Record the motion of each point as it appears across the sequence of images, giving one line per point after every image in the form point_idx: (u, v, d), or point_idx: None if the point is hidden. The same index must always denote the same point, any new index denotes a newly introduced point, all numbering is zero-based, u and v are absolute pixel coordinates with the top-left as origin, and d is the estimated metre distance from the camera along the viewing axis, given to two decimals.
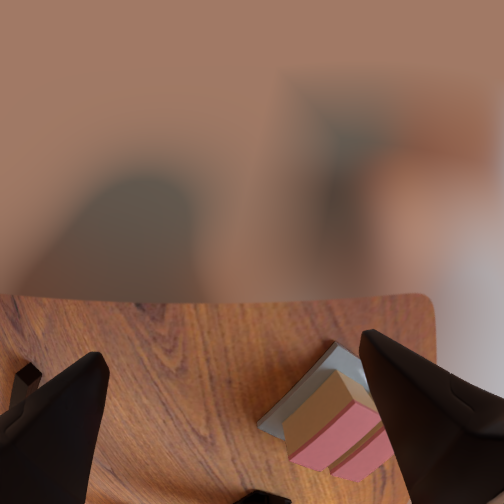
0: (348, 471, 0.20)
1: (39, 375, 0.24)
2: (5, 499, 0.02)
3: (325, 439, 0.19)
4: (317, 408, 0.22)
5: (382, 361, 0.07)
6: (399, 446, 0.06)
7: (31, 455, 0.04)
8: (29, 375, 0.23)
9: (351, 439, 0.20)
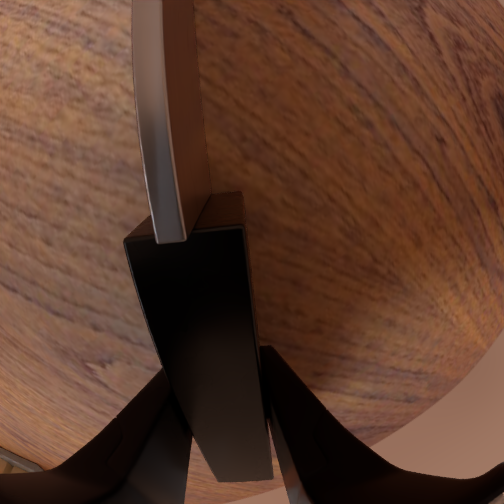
0: None
1: None
2: None
3: None
4: None
5: (263, 382, 0.07)
6: (283, 473, 0.06)
7: (142, 486, 0.04)
8: None
9: None
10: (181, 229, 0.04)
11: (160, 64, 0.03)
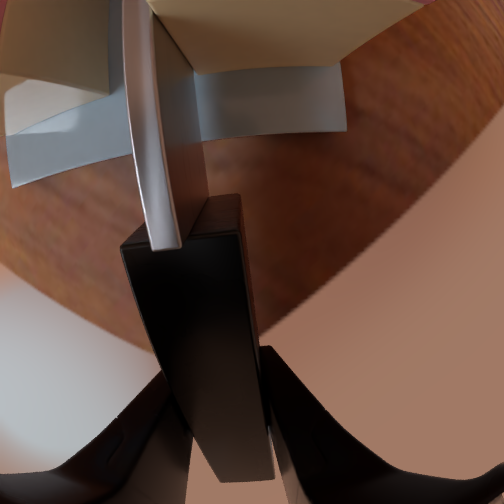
0: None
1: None
2: None
3: None
4: None
5: (262, 382, 0.07)
6: (282, 473, 0.06)
7: (143, 486, 0.04)
8: None
9: None
10: (176, 236, 0.04)
11: (151, 70, 0.03)
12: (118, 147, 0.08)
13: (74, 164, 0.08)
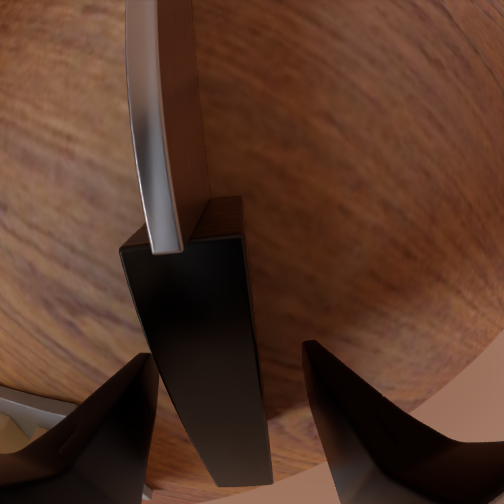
0: None
1: None
2: None
3: None
4: None
5: (314, 375, 0.07)
6: (333, 465, 0.06)
7: (90, 475, 0.04)
8: None
9: None
10: (177, 240, 0.04)
11: (154, 66, 0.03)
12: None
13: None
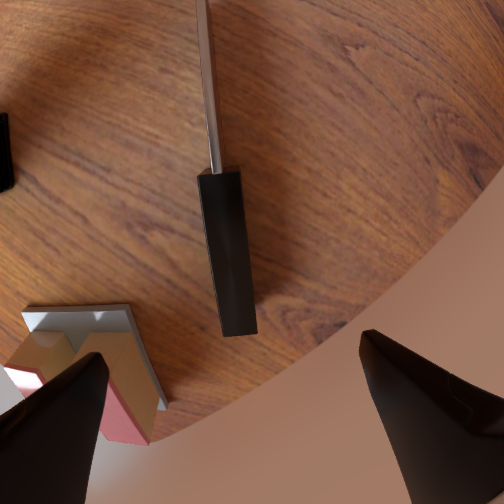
0: (31, 382, 0.15)
1: None
2: (5, 499, 0.02)
3: (119, 416, 0.16)
4: (142, 393, 0.20)
5: (382, 361, 0.07)
6: (399, 446, 0.06)
7: (30, 455, 0.04)
8: None
9: None
10: (220, 169, 0.13)
11: (215, 120, 0.12)
12: None
13: None
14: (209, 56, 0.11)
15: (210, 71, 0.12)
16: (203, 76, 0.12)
